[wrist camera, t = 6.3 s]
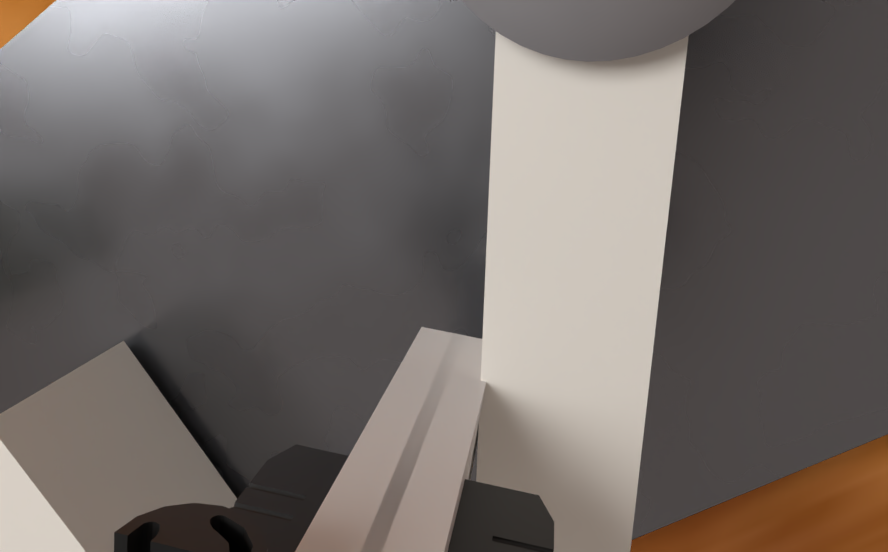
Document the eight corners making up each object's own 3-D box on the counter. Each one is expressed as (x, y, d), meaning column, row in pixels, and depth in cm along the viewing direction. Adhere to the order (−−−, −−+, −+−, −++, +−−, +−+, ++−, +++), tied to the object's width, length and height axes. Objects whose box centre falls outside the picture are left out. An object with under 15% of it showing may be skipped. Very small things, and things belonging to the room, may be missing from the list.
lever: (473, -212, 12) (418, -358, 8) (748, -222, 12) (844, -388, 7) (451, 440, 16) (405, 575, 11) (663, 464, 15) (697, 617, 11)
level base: (654, -461, 12) (817, -1605, 4) (1047, 319, 15) (1695, 664, 6) (-149, 218, 19) (-732, 336, 11) (203, 683, 21) (-45, 1089, 13)
